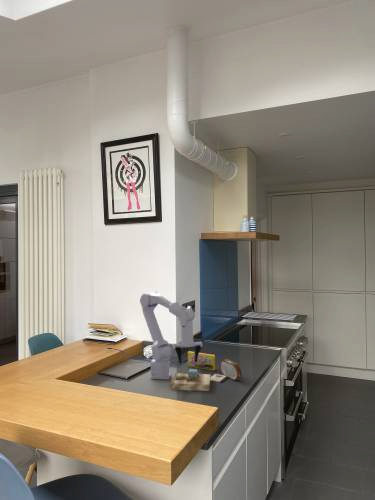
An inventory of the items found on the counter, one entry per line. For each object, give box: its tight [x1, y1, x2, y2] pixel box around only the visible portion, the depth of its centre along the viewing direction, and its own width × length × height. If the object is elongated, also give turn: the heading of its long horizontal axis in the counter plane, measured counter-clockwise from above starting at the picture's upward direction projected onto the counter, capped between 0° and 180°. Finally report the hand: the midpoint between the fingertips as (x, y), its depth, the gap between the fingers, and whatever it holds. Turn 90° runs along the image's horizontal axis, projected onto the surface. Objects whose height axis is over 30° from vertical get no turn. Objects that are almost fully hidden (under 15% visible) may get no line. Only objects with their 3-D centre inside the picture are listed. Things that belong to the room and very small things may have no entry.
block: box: [187, 368, 198, 378], centre depth 181 cm, size 4×4×4 cm
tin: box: [220, 358, 243, 381], centre depth 191 cm, size 15×3×8 cm, turn 30°
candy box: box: [187, 350, 216, 371], centre depth 207 cm, size 16×2×8 cm, turn 62°
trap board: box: [170, 372, 212, 392], centre depth 181 cm, size 18×14×4 cm
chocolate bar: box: [210, 368, 230, 384], centre depth 194 cm, size 9×1×18 cm
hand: (188, 362), depth 182 cm, fingers open, 7 cm apart
